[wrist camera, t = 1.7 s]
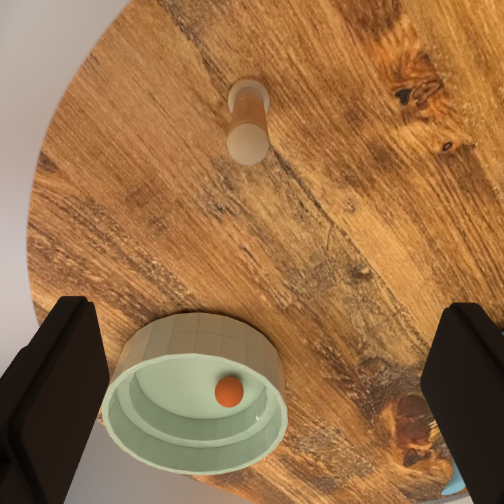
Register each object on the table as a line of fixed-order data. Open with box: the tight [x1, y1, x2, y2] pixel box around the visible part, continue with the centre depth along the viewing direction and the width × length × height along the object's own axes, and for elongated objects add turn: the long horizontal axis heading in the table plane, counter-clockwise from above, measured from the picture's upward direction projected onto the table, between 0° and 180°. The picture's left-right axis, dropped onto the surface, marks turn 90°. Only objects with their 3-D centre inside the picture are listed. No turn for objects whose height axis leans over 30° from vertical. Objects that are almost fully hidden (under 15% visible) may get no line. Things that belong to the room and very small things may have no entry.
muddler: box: [227, 77, 271, 166], centre depth 24 cm, size 3×3×12 cm
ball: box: [215, 377, 244, 408], centre depth 41 cm, size 3×3×3 cm
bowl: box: [102, 312, 288, 475], centre depth 40 cm, size 17×17×6 cm
